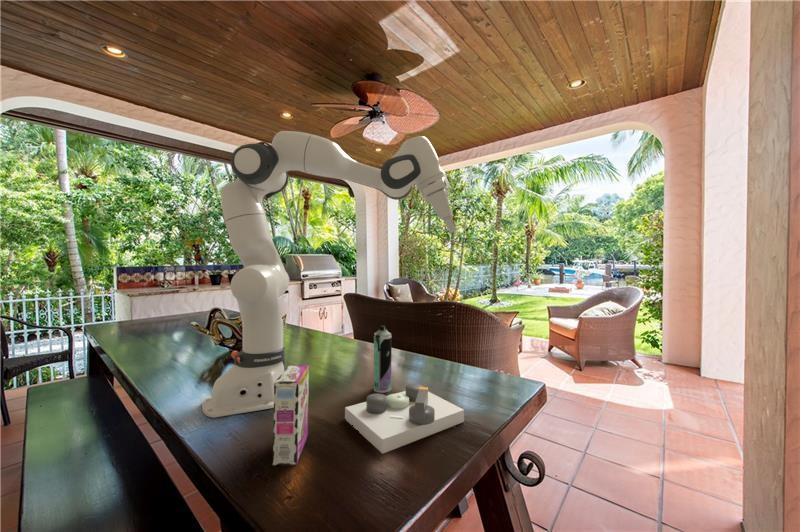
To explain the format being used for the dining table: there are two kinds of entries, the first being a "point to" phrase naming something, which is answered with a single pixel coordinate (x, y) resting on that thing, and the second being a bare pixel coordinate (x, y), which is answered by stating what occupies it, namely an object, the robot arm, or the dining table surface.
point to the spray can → (382, 360)
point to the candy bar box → (290, 415)
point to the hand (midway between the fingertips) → (453, 232)
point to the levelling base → (399, 418)
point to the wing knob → (422, 409)
